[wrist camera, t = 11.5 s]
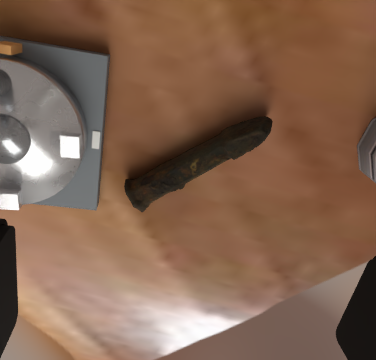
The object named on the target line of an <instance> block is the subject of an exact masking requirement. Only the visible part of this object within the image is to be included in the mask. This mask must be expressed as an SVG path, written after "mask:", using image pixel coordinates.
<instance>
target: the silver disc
mask: <svg viewBox="0 0 376 360" xmlns="http://www.w3.org/2000/svg"><path fill="white" fill-rule="evenodd" d="M87 136H88V135H87V125H86V120H85V117H84V114H83V111H82V108H81V106H80V104H79V102H78V101H77V99H76V97H75V96H74V94H73V93H72V92H71V90H70V89H69V88H68V87H67V86H66V85H65V83H63V82H62V81H61V80H60V79H59V78H58V77H57V76H56V75H54V74H53V73H51V72H50V71H49V70H47V69H45V68H44V67H42V66H40V65H38V64H36V63H33V62H31V61H29V60H25V59H22V58H18V57H12V56H0V209H9V210H19V209H20V208H21V206H22V205H23V204H31V203H35V202H40V201H42V200H45V199H48V198H49V197H51V196H53V195H55V194H57V193H58V192H59V191H61V190H62V189H63V188H64V187H65V186H66V185H67V184H68V183H69V182H70V181H71V179H72V178H73V177H74V175H75V173H76V171H77V169H78V167H79V165H80V163H81V161H82V159H83V157H84V154H85V151H86V146H87Z"/></svg>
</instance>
